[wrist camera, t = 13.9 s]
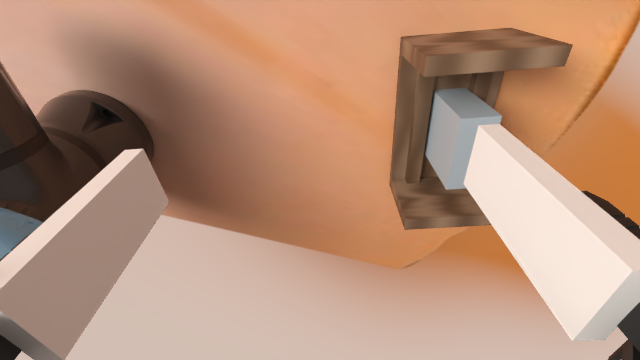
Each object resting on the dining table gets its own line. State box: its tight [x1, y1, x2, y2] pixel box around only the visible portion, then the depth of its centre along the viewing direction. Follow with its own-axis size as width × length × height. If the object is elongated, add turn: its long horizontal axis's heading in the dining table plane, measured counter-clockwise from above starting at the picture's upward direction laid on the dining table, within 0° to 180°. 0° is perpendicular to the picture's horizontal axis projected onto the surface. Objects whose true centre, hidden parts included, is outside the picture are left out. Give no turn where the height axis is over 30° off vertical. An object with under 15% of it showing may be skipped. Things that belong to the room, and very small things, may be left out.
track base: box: [390, 28, 573, 230], centre depth 40 cm, size 14×24×11 cm, turn 4°
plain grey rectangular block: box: [424, 88, 502, 190], centre depth 39 cm, size 4×10×10 cm, turn 4°
